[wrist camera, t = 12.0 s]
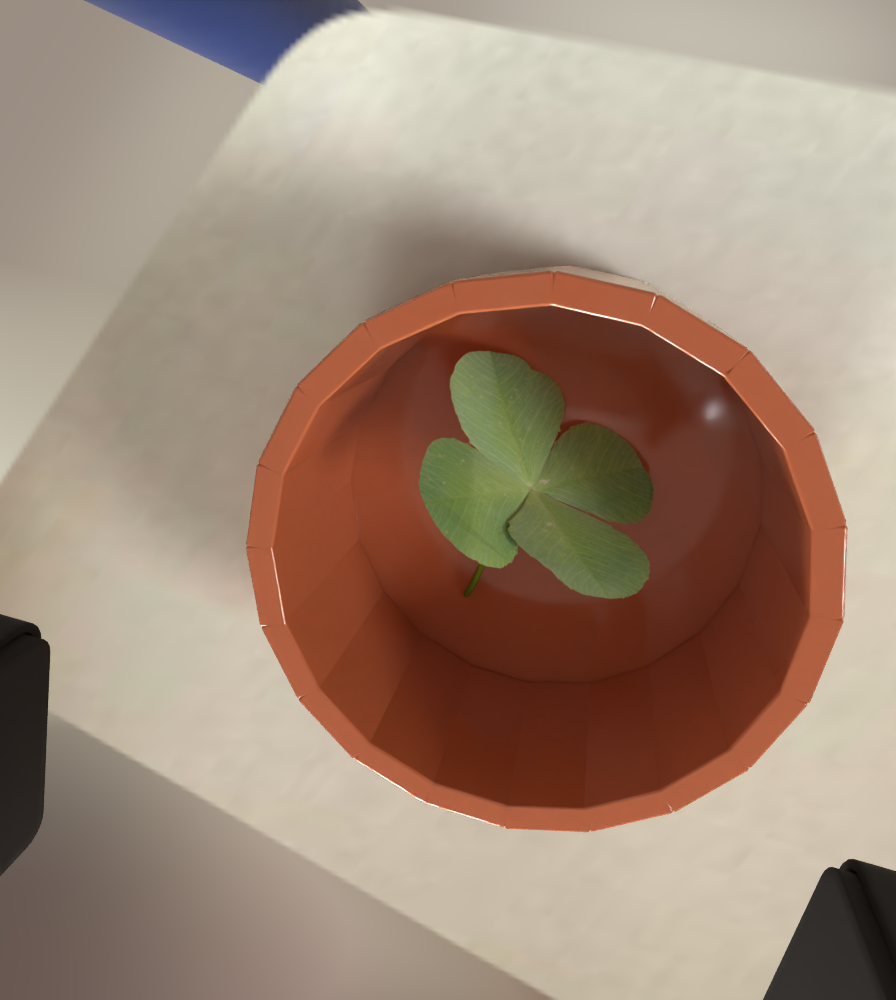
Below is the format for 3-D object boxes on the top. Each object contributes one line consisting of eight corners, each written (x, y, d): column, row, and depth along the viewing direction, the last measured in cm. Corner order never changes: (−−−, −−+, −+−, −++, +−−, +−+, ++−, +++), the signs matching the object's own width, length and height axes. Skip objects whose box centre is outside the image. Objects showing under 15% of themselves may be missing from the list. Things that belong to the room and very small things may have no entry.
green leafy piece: (515, 466, 29) (596, 338, 24) (609, 672, 25) (727, 575, 20) (323, 490, 26) (367, 349, 21) (398, 729, 22) (475, 631, 17)
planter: (311, 624, 28) (218, 740, 21) (380, 221, 23) (290, 210, 17) (699, 737, 26) (729, 899, 20) (851, 327, 22) (953, 360, 15)
